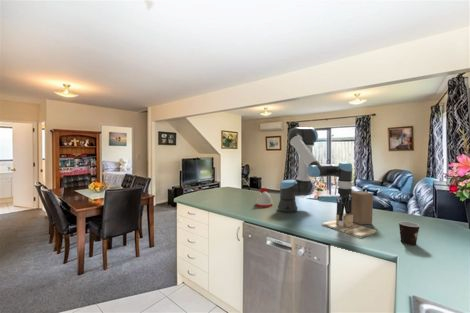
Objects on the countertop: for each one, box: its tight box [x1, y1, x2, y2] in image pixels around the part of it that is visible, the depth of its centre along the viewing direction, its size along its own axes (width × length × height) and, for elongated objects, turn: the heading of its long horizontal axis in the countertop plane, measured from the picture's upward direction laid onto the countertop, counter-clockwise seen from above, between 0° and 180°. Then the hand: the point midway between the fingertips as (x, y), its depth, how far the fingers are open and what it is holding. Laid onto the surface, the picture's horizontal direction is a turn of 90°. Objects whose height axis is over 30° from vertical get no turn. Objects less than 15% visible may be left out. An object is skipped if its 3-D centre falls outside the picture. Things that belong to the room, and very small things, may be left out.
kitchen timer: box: [255, 187, 273, 208], centre depth 198 cm, size 14×14×15 cm
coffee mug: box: [398, 220, 420, 247], centre depth 121 cm, size 12×9×10 cm
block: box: [350, 190, 374, 226], centre depth 154 cm, size 10×10×20 cm
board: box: [321, 218, 377, 239], centre depth 142 cm, size 25×16×1 cm, turn 34°
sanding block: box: [335, 212, 354, 228], centre depth 144 cm, size 8×5×7 cm, turn 34°
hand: (343, 224), depth 145 cm, fingers closed on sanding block, 5 cm apart
